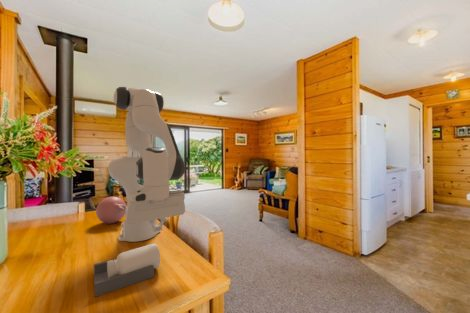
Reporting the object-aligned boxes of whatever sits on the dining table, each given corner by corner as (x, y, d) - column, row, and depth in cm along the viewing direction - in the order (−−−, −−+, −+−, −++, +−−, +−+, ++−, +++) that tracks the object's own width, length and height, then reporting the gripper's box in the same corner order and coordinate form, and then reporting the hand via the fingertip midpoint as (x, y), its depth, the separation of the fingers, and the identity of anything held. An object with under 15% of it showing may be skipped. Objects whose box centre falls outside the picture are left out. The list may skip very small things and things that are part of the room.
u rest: (94, 275, 69) (94, 264, 69) (145, 260, 78) (145, 251, 78) (94, 296, 59) (94, 284, 59) (153, 277, 68) (153, 266, 68)
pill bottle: (153, 238, 76) (105, 252, 66) (161, 250, 70) (110, 267, 60) (153, 258, 77) (106, 273, 68) (160, 271, 71) (110, 290, 62)
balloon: (108, 230, 109) (107, 201, 109) (91, 224, 121) (91, 197, 121) (136, 222, 122) (135, 196, 122) (118, 217, 133) (118, 193, 133)
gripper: (181, 188, 83) (182, 222, 83) (123, 194, 71) (124, 234, 72) (187, 190, 78) (188, 227, 78) (126, 198, 66) (127, 240, 67)
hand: (157, 230), depth 75 cm, fingers closed
